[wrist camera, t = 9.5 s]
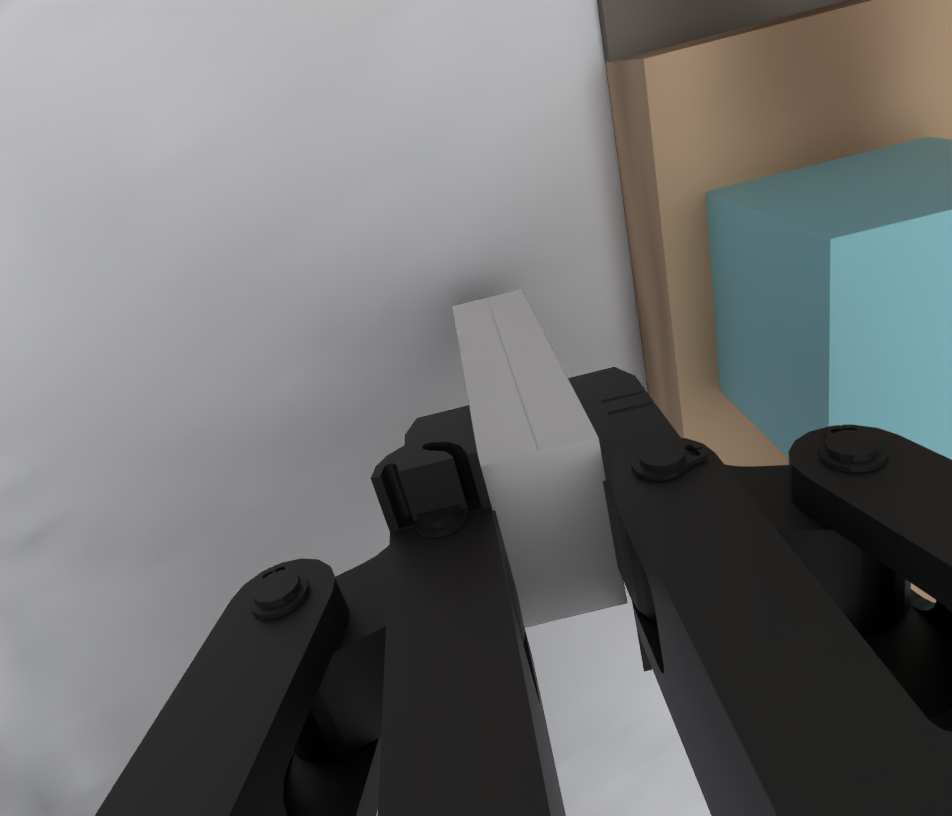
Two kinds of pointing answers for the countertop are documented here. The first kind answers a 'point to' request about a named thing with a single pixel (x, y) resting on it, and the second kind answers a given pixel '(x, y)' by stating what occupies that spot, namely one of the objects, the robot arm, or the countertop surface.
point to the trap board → (747, 150)
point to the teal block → (839, 295)
